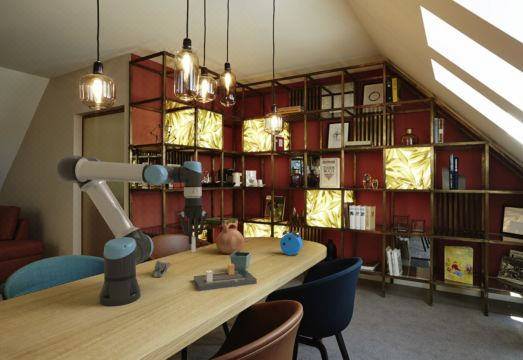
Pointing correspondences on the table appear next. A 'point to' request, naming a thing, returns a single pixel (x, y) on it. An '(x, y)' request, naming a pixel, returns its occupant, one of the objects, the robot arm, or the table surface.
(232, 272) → the fader orange
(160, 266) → the mineral specimen
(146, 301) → the table surface
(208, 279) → the fader ivory
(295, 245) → the alarm clock
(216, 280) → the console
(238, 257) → the flower pot
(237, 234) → the jug
